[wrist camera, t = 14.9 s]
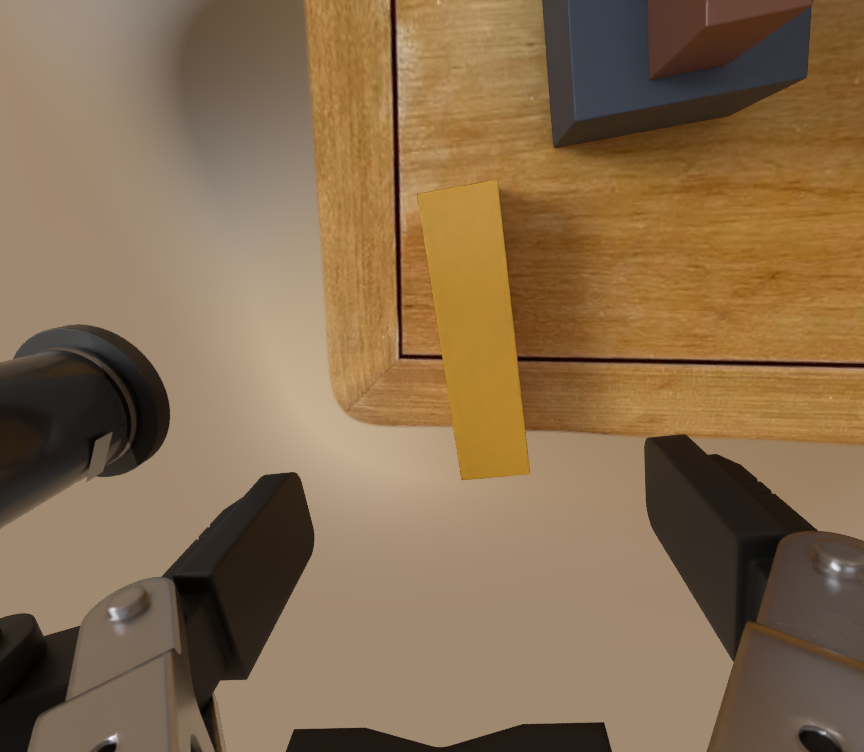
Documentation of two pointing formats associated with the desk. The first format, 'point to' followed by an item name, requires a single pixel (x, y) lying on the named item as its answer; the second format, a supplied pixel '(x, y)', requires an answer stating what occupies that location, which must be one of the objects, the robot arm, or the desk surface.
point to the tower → (666, 61)
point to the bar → (476, 327)
